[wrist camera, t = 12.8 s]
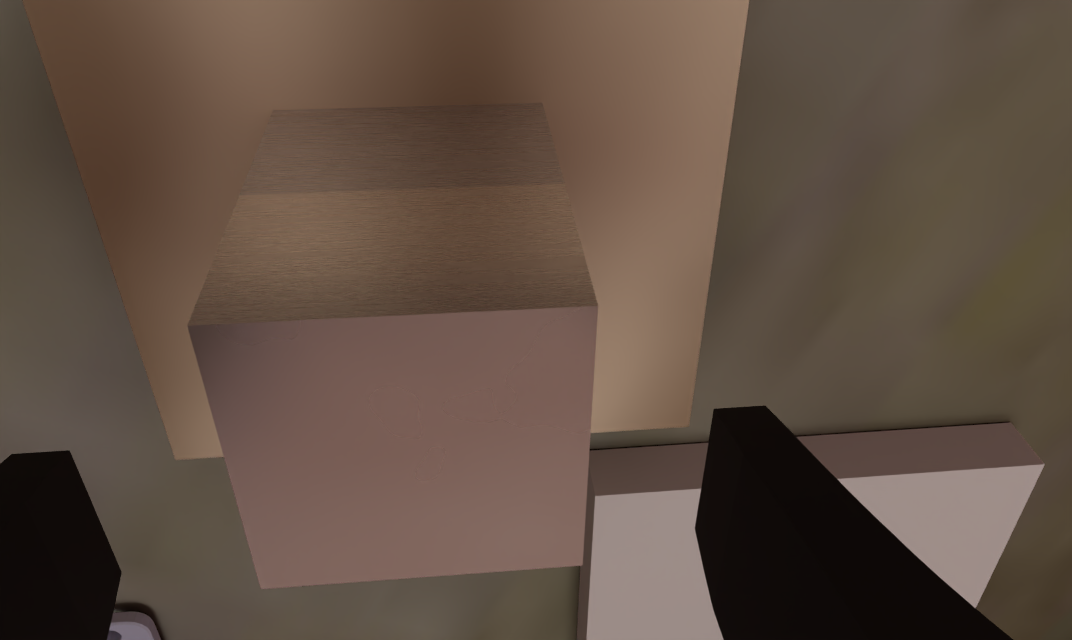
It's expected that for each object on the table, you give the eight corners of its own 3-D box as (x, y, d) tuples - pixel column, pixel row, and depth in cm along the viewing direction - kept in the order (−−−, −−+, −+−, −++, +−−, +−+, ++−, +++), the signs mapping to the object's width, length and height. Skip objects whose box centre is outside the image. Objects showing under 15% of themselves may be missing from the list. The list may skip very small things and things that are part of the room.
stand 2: (573, 700, 28) (580, 746, 26) (585, 451, 21) (595, 496, 20) (904, 670, 28) (924, 713, 27) (1011, 422, 22) (1045, 464, 21)
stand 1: (191, 412, 19) (175, 459, 18) (24, -138, 13) (-19, -123, 12) (673, 383, 20) (688, 426, 19) (738, -146, 14) (768, -131, 13)
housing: (311, 329, 17) (260, 589, 12) (273, 109, 14) (186, 325, 9) (539, 317, 17) (582, 565, 12) (542, 102, 14) (598, 306, 9)
